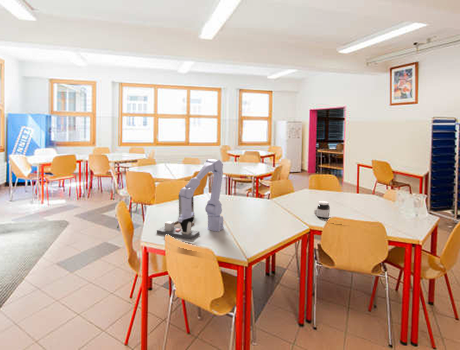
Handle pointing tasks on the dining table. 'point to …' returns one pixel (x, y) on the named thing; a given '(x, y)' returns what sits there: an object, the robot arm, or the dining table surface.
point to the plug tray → (178, 225)
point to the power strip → (178, 233)
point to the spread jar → (322, 210)
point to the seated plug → (169, 226)
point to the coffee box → (181, 208)
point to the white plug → (187, 229)
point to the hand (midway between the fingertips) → (186, 230)
